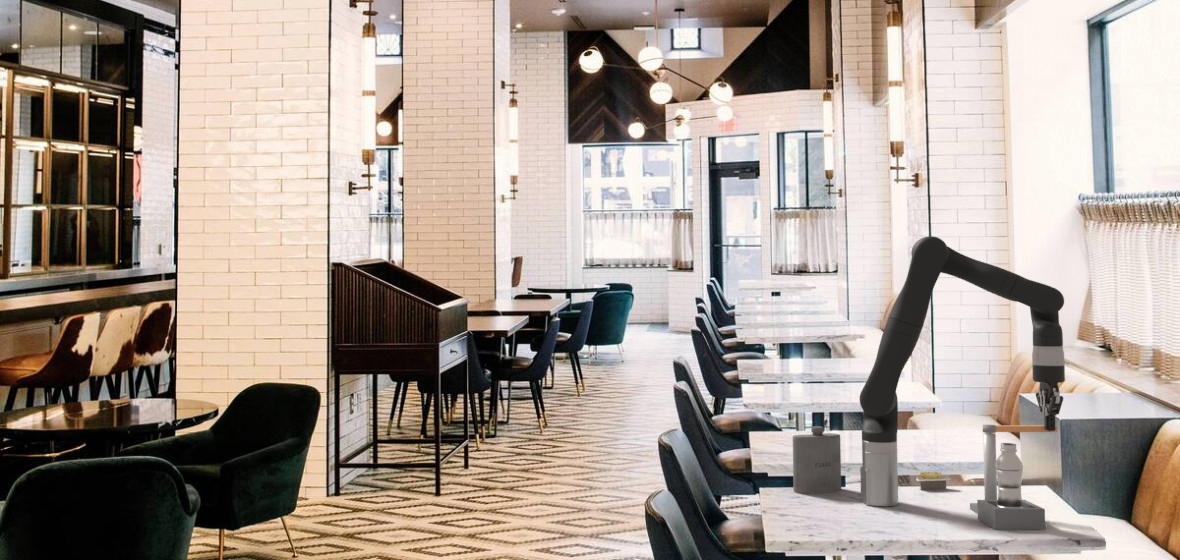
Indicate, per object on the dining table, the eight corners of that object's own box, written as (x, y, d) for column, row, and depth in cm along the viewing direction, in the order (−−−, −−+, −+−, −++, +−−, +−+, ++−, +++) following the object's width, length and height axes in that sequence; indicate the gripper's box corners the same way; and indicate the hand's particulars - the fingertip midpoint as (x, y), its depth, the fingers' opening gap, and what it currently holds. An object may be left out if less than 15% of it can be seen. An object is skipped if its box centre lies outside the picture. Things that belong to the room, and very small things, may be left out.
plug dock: (995, 529, 223) (993, 443, 224) (962, 510, 244) (960, 431, 245) (1045, 529, 222) (1043, 443, 223) (1007, 510, 244) (1006, 431, 245)
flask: (800, 499, 260) (799, 429, 261) (790, 495, 266) (789, 426, 267) (846, 496, 265) (845, 426, 266) (835, 492, 270) (834, 424, 271)
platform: (893, 492, 272) (893, 470, 272) (950, 489, 275) (949, 467, 275) (913, 500, 260) (912, 477, 260) (972, 497, 263) (971, 474, 263)
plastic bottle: (1022, 522, 230) (1020, 442, 231) (1026, 528, 224) (1024, 446, 225) (995, 520, 233) (993, 441, 233) (997, 526, 226) (995, 445, 227)
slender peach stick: (1053, 431, 241) (1052, 424, 241) (1058, 432, 238) (1058, 426, 238) (980, 431, 243) (980, 424, 243) (985, 432, 239) (985, 426, 239)
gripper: (1073, 364, 231) (1075, 433, 231) (1053, 362, 244) (1055, 427, 244) (1042, 364, 232) (1044, 433, 232) (1024, 362, 245) (1025, 427, 245)
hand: (1049, 430), depth 238 cm, fingers closed
